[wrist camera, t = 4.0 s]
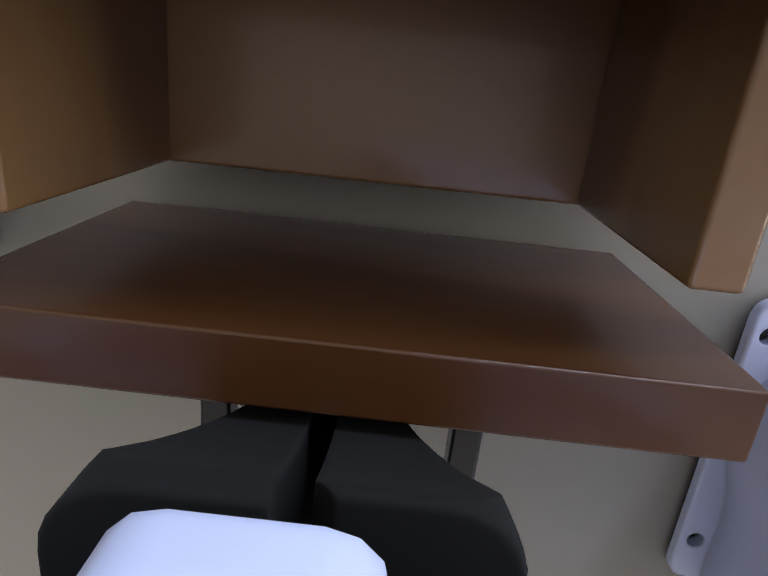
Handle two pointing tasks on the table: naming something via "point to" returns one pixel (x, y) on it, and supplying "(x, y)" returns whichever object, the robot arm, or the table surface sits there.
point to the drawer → (388, 246)
